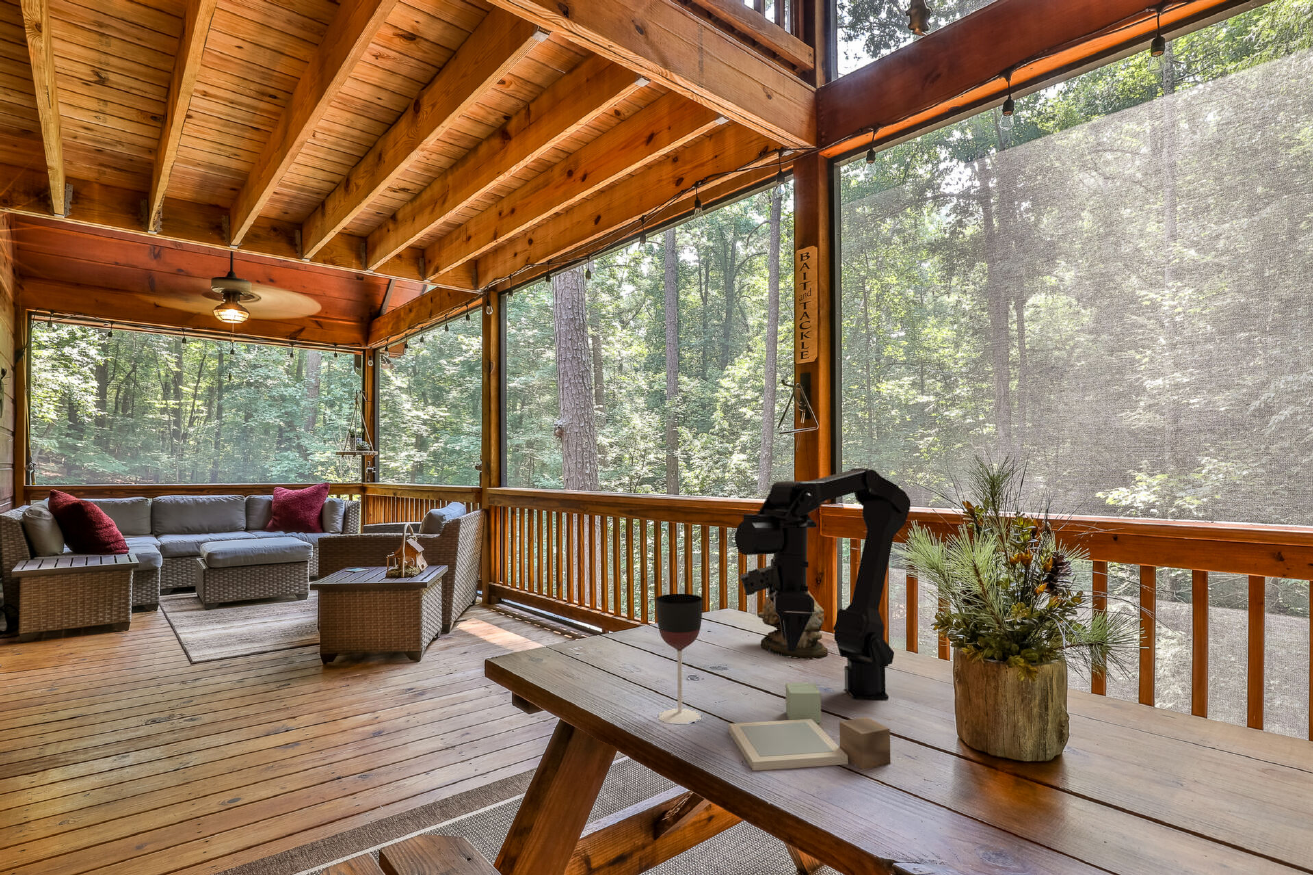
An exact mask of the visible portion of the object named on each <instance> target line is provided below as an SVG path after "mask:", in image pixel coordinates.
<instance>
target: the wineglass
mask: <svg viewBox="0 0 1313 875" xmlns="http://www.w3.org/2000/svg"><path fill="white" fill-rule="evenodd" d="M655 598H656V599H655V607H656V609H655V610H656V620H657V627H658V631H659V635H660V637H661V639H662V640H663V642H665V643H666V644H667V645H669V646H670V647H672V648H674V649H675V650H677V655H676V656H677V657H676V658H677V660H676V661H677V662H676V663H677V708H678V709H675V708H671V709H672V710H668V709H667V710H668V711H665V710H663V711H664V712H663V713H661V712H660V713H659V714H662V715H659V714H658V715H659V716H660V717H659V718H658V719H659V720H660V721H661V722H663V721H665V722H664V723H666V724H669V723H688V722H689V721H696V719H700V720H702V718H701V717H699V716H700V715H698V714H699V713H700V712H699V713H696V711H697V710H694V711H691V710H692V709H691V710H689V709H690V708H685V709H682V708H683V664H682V663H683V661H682V660H683V654H682V652H683V650H684V649H686V648H687V647H690V646H691V644H693V643H694V642H695V641H696V640H697V638H698V636H699V634H700V631H701V626H702V620H703V618H702V617H703V597H702V596H699V595H697V594H690V593H669V594H663V595H659V596H657V597H655ZM667 722H668V723H667Z"/></svg>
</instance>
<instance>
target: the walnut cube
mask: <svg viewBox="0 0 1313 875" xmlns="http://www.w3.org/2000/svg"><path fill="white" fill-rule="evenodd" d="M838 723H839V727H838V728H839V747H840V748H841V749H842V750H843V751H844V752H845V753H846V754H847V755H848V763H849V762H850V763H851V764H853V765H855V766H856V767H858V768H859V769H860V770H862V771H863V770H867V769H872V768H877V767H881V766H885V765H891V763H892V762H891V729H890V727H888V726H886V725H883V724H881V723H879V722H877V721H876V720H873V719H871V718H869V717H868V716H862V717H857V718H852V719H847V720H842V721H839V722H838Z"/></svg>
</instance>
